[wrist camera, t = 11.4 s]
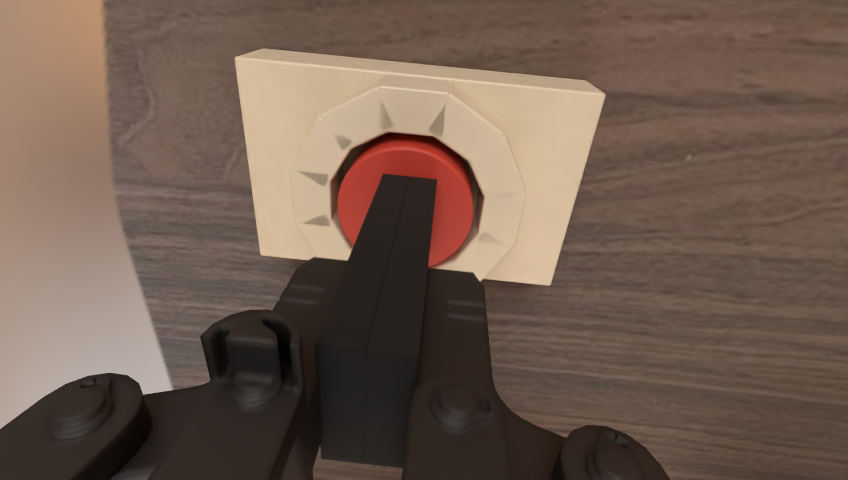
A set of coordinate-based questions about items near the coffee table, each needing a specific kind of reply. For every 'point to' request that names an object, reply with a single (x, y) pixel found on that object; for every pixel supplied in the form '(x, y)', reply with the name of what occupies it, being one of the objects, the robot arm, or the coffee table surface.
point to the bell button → (415, 161)
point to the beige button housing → (419, 115)
